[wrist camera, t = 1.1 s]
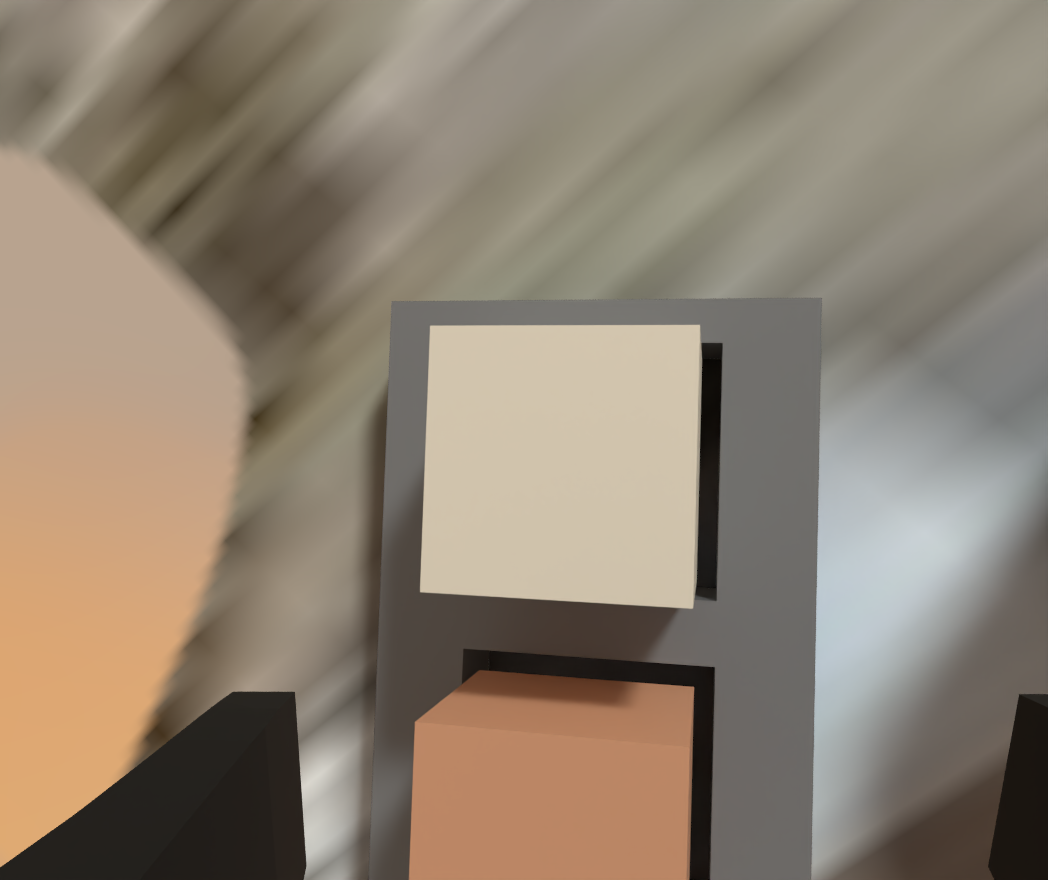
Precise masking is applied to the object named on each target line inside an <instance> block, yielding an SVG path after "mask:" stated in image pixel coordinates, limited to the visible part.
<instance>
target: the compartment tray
mask: <svg viewBox="0 0 1048 880" xmlns="http://www.w3.org/2000/svg"><path fill="white" fill-rule="evenodd" d="M821 318H822V298H736V299H618V300H500V301H392V306H391V331H390V356H389V380H388V405H387V430H386V455H385V480H384V505H383V530H382V554H381V579H380V604H379V629H378V654H377V679H376V703H375V728H374V753H373V778H372V803H371V828H370V853H369V877H368V880H409V864H410V838H411V812H412V786H413V760H414V734H415V721H417V720H418V719H419V718H420V717H422V716H423V715H424V714H425V713H427V712H428V711H429V710H430V709H432V708H433V707H434V706H435V705H437V704H438V703H439V702H440V701H442V700H443V699H444V698H445V697H447V696H448V695H449V694H450V693H452V692H453V691H454V690H455V689H457V688H458V687H459V686H460V685H462V684H463V683H464V682H465V681H467V680H468V679H469V678H470V677H472V676H473V675H474V674H475V673H477V672H478V671H479V670H485V671H489V655H490V651H503V652H517V653H530V654H544V655H557V656H571V657H585V658H598V659H612V660H625V661H639V662H653V663H666V664H680V665H693V666H707V667H714V687H713V730H712V772H711V815H710V857H709V880H811V858H812V804H813V750H814V696H815V642H816V588H817V534H818V480H819V426H820V372H821ZM466 325H700V333H701V350H702V359H721V390H720V432H719V475H718V517H717V560H716V588H706V587H696V590H695V598H694V605H693V609H689V608H672V607H656V606H639V605H623V604H606V603H590V602H573V601H557V600H541V599H524V598H508V597H491V596H475V595H458V594H442V593H426V592H420V577H421V551H422V525H423V499H424V472H425V446H426V420H427V394H428V368H429V342H430V326H466ZM689 880H692V879H689Z"/></svg>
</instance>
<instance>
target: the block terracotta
mask: <svg viewBox="0 0 1048 880" xmlns="http://www.w3.org/2000/svg"><path fill="white" fill-rule="evenodd" d="M693 714H694V687H689V686H676V685H663V684H651V683H638V682H625V681H612V680H599V679H587V678H574V677H561V676H548V675H536V674H523V673H510V672H497V671H485V670H479V671H478V672H477V673H475V674H474V675H473V676H472V677H470V678H469V679H468V680H467V681H465V682H464V683H463V684H462V685H460V686H459V687H458V688H457V689H455V690H454V691H453V692H452V693H450V694H449V695H448V696H447V697H445V698H444V699H443V700H442V701H440V702H439V703H438V704H437V705H435V706H434V707H433V708H432V709H430V710H429V711H428V712H427V713H425V714H424V715H423V716H422V717H420V718H419V719H418V720H417V721H415V734H414V760H413V786H412V812H411V838H410V864H409V880H689V877H690V836H691V795H692V754H693Z"/></svg>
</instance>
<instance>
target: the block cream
mask: <svg viewBox="0 0 1048 880" xmlns="http://www.w3.org/2000/svg"><path fill="white" fill-rule="evenodd" d="M701 387H702V350H701V333H700V325H466V326H430V342H429V368H428V394H427V420H426V446H425V472H424V499H423V525H422V551H421V577H420V592H426V593H442V594H458V595H475V596H491V597H508V598H524V599H541V600H557V601H573V602H590V603H606V604H623V605H639V606H656V607H672V608H689V609H693V605H694V598H695V590H696V583H697V550H698V509H699V469H700V428H701Z"/></svg>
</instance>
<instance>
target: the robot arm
mask: <svg viewBox="0 0 1048 880" xmlns="http://www.w3.org/2000/svg"><path fill="white" fill-rule="evenodd" d="M988 867H989V869H990V871H991V873H992V876H993V878H994V880H1048V694H1019V699H1018V704H1017V710H1016V716H1015V721H1014V727H1013V732H1012V738H1011V743H1010V749H1009V754H1008V760H1007V765H1006V771H1005V776H1004V782H1003V787H1002V793H1001V798H1000V804H999V809H998V815H997V820H996V826H995V831H994V837H993V842H992V848H991V853H990V859H989V864H988ZM305 870H306V853H305V838H304V823H303V808H302V793H301V778H300V763H299V747H298V732H297V717H296V702H295V692H232V693H231V694H229V695H228V696H226V697H225V698H223V699H222V700H221V701H219V702H218V703H217V704H215V705H214V706H213V707H211V708H210V709H209V710H207V711H206V712H205V713H204V714H202V715H201V716H200V717H198V718H197V719H196V720H195V721H193V722H192V723H191V724H190V725H188V726H187V727H186V728H185V729H183V730H182V731H181V732H180V733H178V734H177V735H176V736H175V737H173V738H172V739H171V740H170V741H168V742H167V743H166V744H165V745H163V746H162V747H161V748H160V749H158V750H157V751H156V752H154V753H153V754H152V755H151V756H149V757H148V758H147V759H146V760H144V761H143V762H142V763H141V764H139V765H138V766H137V767H135V768H134V769H133V770H131V771H130V772H129V773H128V774H126V775H125V776H124V777H122V778H121V779H120V780H119V781H117V782H116V783H115V784H113V785H112V786H111V787H110V788H108V789H107V790H106V791H104V792H103V793H102V794H101V795H99V796H98V797H97V798H95V799H94V800H93V801H92V802H90V803H89V804H88V805H86V806H85V807H84V808H83V809H81V810H80V811H79V812H77V813H76V814H75V815H73V816H72V817H71V818H69V819H68V820H66V821H65V822H63V823H62V824H61V825H59V826H58V827H56V828H55V829H54V830H52V831H51V832H49V833H48V834H47V835H45V836H44V837H42V838H41V839H40V840H38V841H37V842H35V843H34V844H33V845H31V846H30V847H28V848H27V849H26V850H24V851H23V852H21V853H20V854H19V855H17V856H16V857H14V858H13V859H12V860H10V861H9V862H7V863H6V864H4V865H3V866H2V867H0V880H303V879H304V875H305Z"/></svg>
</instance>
